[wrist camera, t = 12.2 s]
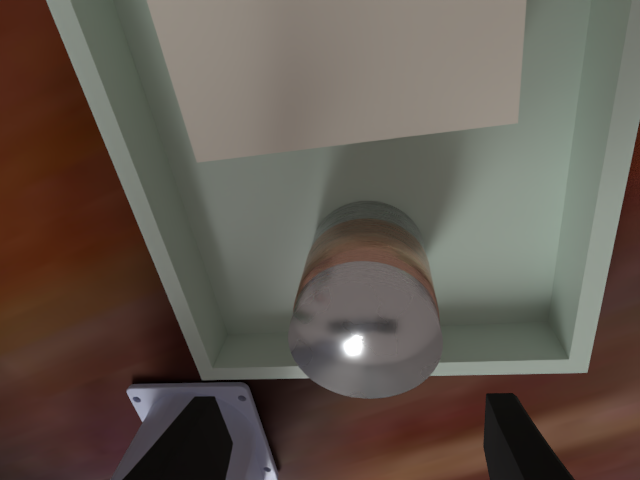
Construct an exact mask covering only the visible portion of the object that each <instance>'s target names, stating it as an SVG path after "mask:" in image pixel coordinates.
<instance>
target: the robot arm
mask: <svg viewBox="0 0 640 480" xmlns="http://www.w3.org/2000/svg"><path fill="white" fill-rule="evenodd" d="M127 394H128V396H129V398H130V400H131V402H132V404H133V405H134V407H135V409H136V411H137V413H138V415H139V416H140V418H141V420H142V422H143V423H142V425H141V426H140V428H139V430H138V432H137V433H136V435H135V437H134V439H133V440H132V442H131V444H130V446H129V447H128V449H127V451H126V453H125V454H124V456H123V458H122V460H121V462H120V463H119V465H118V467H117V469H116V470H115V472H114V474H113V476H112V477H111V479H110V480H277V479H278V471H277V468H276V465H275V462H274V459H273V456H272V453H271V450H270V447H269V444H268V441H267V438H266V436H265V433H264V430H263V427H262V424H261V421H260V418H259V415H258V412H257V409H256V406H255V403H254V400H253V397H252V394H251V391H250V388H249V386H248V385H247V384H245V383H243V382H216V383H161V384H131V385H130V386H129V387H128V389H127ZM484 452H485V457H486V462H487V467H488V472H489V477H490V480H575V479H574V478H573V477H572V475H571V474H570V473H569V472H568V470H567V469H566V468H565V466H564V465H563V464H562V462H561V461H560V460H559V458H558V457H557V456H556V454H555V453H554V452H553V450H552V449H551V447H550V446H549V445H548V443H547V442H546V440H545V439H544V437H543V436H542V435H541V433H540V432H539V430H538V429H537V427H536V426H535V424H534V423H533V421H532V420H531V418H530V417H529V415H528V414H527V412H526V411H525V409H524V408H523V406H522V404H521V403H520V401H519V399H518V398H517V396H515V395H514V394H513V393H492V394H486V408H485V427H484Z"/></svg>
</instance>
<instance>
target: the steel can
mask: <svg viewBox="0 0 640 480" xmlns="http://www.w3.org/2000/svg"><path fill="white" fill-rule="evenodd" d="M439 320H440V317H439V309H438V304H437V300H436V295H435V290H434V285H433V281H432V276H431V271H430V266H429V262H428V258H427V255H426V253H425V248H424V243H423V239H422V235H421V233H420V231H419V229H418V227H417V226H416V224H415V223H414V221H413V220H412V219H411V218H410V217H409V216H408V215H407V214H405V213H404V212H403V211H401V210H400V209H398V208H396V207H394V206H392V205H389V204H386V203H382V202H377V201H358V202H353V203H349V204H346V205H344V206H341V207H339V208H337V209H336V210H334V211H332V212H331V213H330V214H329V215H327V216H326V217H325V218H324V220H323V221H322V222H321V223H320V225H319V226H318V228H317V230H316V233H315V235H314V239H313V242H312V246H311V249H310V251H309V253H308V256H307V259H306V263H305V267H304V270H303V274H302V277H301V281H300V284H299V288H298V292H297V295H296V299H295V302H294V308H293V315H292V319H291V322H290V326H289V332H288V343H289V348H290V351H291V354H292V356H293V358H294V360H295V362H296V364H297V365H298V366H299V368H300V369H301V370H302V371H303V372H304V373H305V374H306V375H307V376H308V377H309V378H310V379H311V380H313V381H314V382H316V383H317V384H319V385H320V386H322V387H324V388H326V389H328V390H331V391H333V392H335V393H339V394H342V395H346V396H350V397H356V398H384V397H390V396H394V395H398V394H401V393H404V392H406V391H409V390H411V389H413V388H415V387H416V386H418V385H419V384H421V383H422V382H423V381H425V380H426V379H427V378H428V377H429V376H430V375H431V374H432V373H433V371H434V370H435V368H436V367H437V365H438V363H439V361H440V359H441V355H442V351H443V338H442V332H441V327H440V322H439Z"/></svg>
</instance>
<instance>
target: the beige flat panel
mask: <svg viewBox="0 0 640 480" xmlns="http://www.w3.org/2000/svg"><path fill="white" fill-rule="evenodd" d="M526 1H527V0H147V4H148V7H149V10H150V13H151V17H152V20H153V23H154V26H155V29H156V33H157V36H158V39H159V42H160V46H161V49H162V52H163V55H164V58H165V62H166V65H167V68H168V71H169V75H170V78H171V81H172V84H173V88H174V91H175V94H176V97H177V100H178V104H179V107H180V110H181V113H182V117H183V120H184V123H185V126H186V129H187V133H188V136H189V139H190V142H191V146H192V149H193V152H194V155H195V158H196V162H197V163H199V162H207V161H215V160H223V159H231V158H239V157H247V156H256V155H264V154H272V153H280V152H288V151H296V150H304V149H312V148H321V147H329V146H337V145H345V144H353V143H361V142H369V141H378V140H386V139H394V138H402V137H410V136H418V135H426V134H434V133H443V132H451V131H459V130H467V129H475V128H483V127H491V126H500V125H508V124H516V123H518V116H519V101H520V87H521V73H522V58H523V44H524V30H525V15H526Z"/></svg>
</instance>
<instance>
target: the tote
mask: <svg viewBox="0 0 640 480" xmlns="http://www.w3.org/2000/svg"><path fill="white" fill-rule="evenodd" d="M46 1H47V4H48V6H49V9H50V11H51V13H52V16H53V18H54V21H55V23H56V26H57V28H58V31H59V33H60V35H61V38H62V40H63V43H64V45H65V48H66V50H67V52H68V55H69V57H70V60H71V62H72V65H73V67H74V70H75V72H76V74H77V77H78V79H79V82H80V84H81V87H82V89H83V91H84V94H85V96H86V99H87V101H88V104H89V106H90V109H91V111H92V113H93V116H94V118H95V121H96V123H97V126H98V128H99V130H100V133H101V135H102V138H103V140H104V143H105V145H106V148H107V150H108V152H109V155H110V157H111V160H112V162H113V165H114V167H115V169H116V172H117V174H118V177H119V179H120V182H121V184H122V187H123V189H124V191H125V194H126V196H127V199H128V201H129V204H130V206H131V208H132V211H133V213H134V216H135V218H136V221H137V223H138V225H139V228H140V230H141V233H142V235H143V238H144V240H145V243H146V245H147V247H148V250H149V252H150V255H151V257H152V260H153V262H154V264H155V267H156V269H157V272H158V274H159V277H160V279H161V282H162V284H163V286H164V289H165V291H166V294H167V296H168V299H169V301H170V303H171V306H172V308H173V311H174V313H175V316H176V318H177V321H178V323H179V325H180V328H181V330H182V333H183V335H184V338H185V340H186V342H187V345H188V347H189V350H190V352H191V355H192V357H193V360H194V362H195V364H196V367H197V369H198V372H199V374H200V377H201V379H202V380H240V379H291V378H309V377H308V376H307V375H306V374H305V373H304V372H303V371H302V370H301V369H300V368H299V366H298V365H297V364H296V362H295V360H294V358H293V356H292V354H291V351H290V348H289V343H288V332H289V326H290V322H291V319H292V315H293V308H294V302H295V299H296V295H297V292H298V288H299V284H300V281H301V277H302V274H303V270H304V267H305V263H306V259H307V256H308V253H309V251H310V249H311V246H312V242H313V239H314V235H315V233H316V230H317V228H318V226H319V225H320V223H321V222H322V221H323V220H324V218H325V217H326V216H327V215H329V214H330V213H331V212H332V211H334V210H336V209H337V208H339V207H341V206H344V205H346V204H349V203H353V202H358V201H377V202H382V203H386V204H389V205H392V206H394V207H396V208H398V209H400V210H401V211H403V212H404V213H405V214H407V215H408V216H409V217H410V218H411V219H412V220H413V221H414V223H415V224H416V226H417V227H418V229H419V231H420V233H421V235H422V239H423V243H424V248H425V253H426V255H427V258H428V262H429V266H430V271H431V276H432V281H433V285H434V290H435V295H436V300H437V304H438V309H439V317H440V320H439V322H440V327H441V332H442V338H443V351H442V355H441V359H440V361H439V363H438V365H437V367H436V368H435V370H434V371H433V373H432V374H431V375H430V376H447V375H499V374H550V373H587V372H588V367H589V362H590V357H591V352H592V347H593V343H594V338H595V333H596V328H597V323H598V319H599V314H600V309H601V304H602V299H603V294H604V290H605V285H606V280H607V275H608V270H609V266H610V261H611V256H612V251H613V246H614V241H615V237H616V232H617V227H618V222H619V217H620V212H621V208H622V203H623V198H624V193H625V188H626V184H627V179H628V174H629V169H630V164H631V159H632V155H633V150H634V145H635V140H636V135H637V130H638V126H639V121H640V0H527V1H526V15H525V30H524V44H523V58H522V73H521V87H520V101H519V116H518V123H516V124H508V125H500V126H491V127H483V128H475V129H467V130H459V131H451V132H443V133H434V134H426V135H418V136H410V137H402V138H394V139H386V140H378V141H369V142H361V143H353V144H345V145H337V146H329V147H321V148H312V149H304V150H296V151H288V152H280V153H272V154H264V155H256V156H247V157H239V158H231V159H223V160H215V161H207V162H199V163H197V162H196V158H195V155H194V152H193V149H192V146H191V142H190V139H189V136H188V133H187V129H186V126H185V123H184V120H183V117H182V113H181V110H180V107H179V104H178V100H177V97H176V94H175V91H174V88H173V84H172V81H171V78H170V75H169V71H168V68H167V65H166V62H165V58H164V55H163V52H162V49H161V46H160V42H159V39H158V36H157V33H156V29H155V26H154V23H153V20H152V17H151V13H150V10H149V7H148V4H147V0H46Z"/></svg>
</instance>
